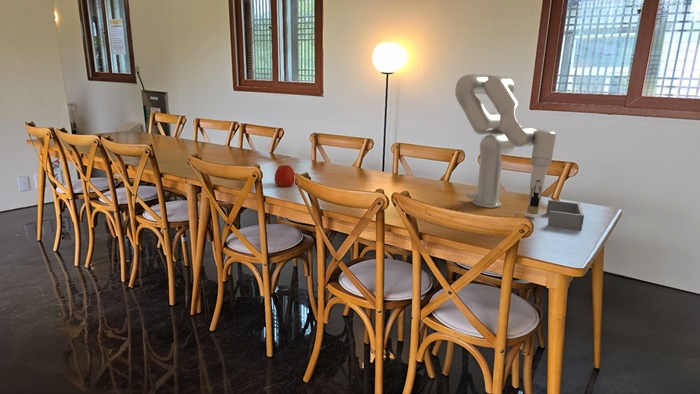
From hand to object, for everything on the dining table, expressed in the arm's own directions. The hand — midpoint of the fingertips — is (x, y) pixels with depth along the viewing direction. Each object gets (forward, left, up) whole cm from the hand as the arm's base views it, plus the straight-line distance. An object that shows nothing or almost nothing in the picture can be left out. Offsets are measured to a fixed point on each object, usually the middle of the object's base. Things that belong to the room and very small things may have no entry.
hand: (533, 204), depth 183 cm
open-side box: (+12, 0, -6) cm, 13 cm away
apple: (-115, -3, -6) cm, 115 cm away
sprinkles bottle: (0, 0, -4) cm, 4 cm away
